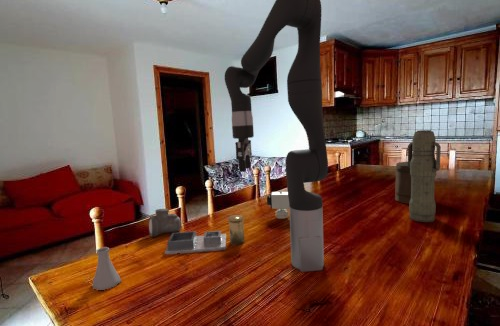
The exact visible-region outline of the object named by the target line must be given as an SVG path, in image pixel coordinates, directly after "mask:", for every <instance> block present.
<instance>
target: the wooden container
mask: <svg viewBox="0 0 500 326" xmlns="http://www.w3.org/2000/svg"><path fill="white" fill-rule="evenodd" d="M395 165H396V166H395V167H396V168H395V182H394V183H395V188H394V189H395V190H394V192H395V194H394V196H395V197H394V200H395V201H396V202H398V203H401V204H408V205H409V202H410V199H411V175H410V168H409V167H408V161H401V162H396V164H395Z"/></svg>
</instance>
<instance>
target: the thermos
mask: <svg viewBox="0 0 500 326" xmlns="http://www.w3.org/2000/svg"><path fill="white" fill-rule="evenodd" d="M441 149H442V148H441V145H440V143H439V142H436V135H435V133H434V130H431V129H428V130H427V129H426V130H423V129H422V130H421V129H420V130H416V131H415V132H414V134H413V137H412V142H410V143H409V144H408V145H407V162H408V167H409V168H410V175H411V199H410V202H409V204H408V205H409V207H408V208H409V209H408V210H409V211H408V212H409V219H410V220H412V221H415V222H419V223H432V222H435V221H436V220H435V217H436V216H435V215H436V205H437V203H436V200H435V184H436V182H435V179H436V177H437V171H440V168H441V151H442V150H441ZM435 151H436V154H435Z"/></svg>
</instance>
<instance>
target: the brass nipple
mask: <svg viewBox="0 0 500 326" xmlns="http://www.w3.org/2000/svg"><path fill="white" fill-rule="evenodd" d="M244 219H245V218H244V215H242V214H241V215H239V214H233V215H230V216H229V215H228V217H227V221H228V227H229V228H228V229H229V230H228V231H229V243H230V244H231V245H233V246H234V245H235V246H238V245H242V244H244V243H245V231H244V230H245V229H244Z"/></svg>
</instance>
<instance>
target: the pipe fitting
mask: <svg viewBox="0 0 500 326" xmlns="http://www.w3.org/2000/svg"><path fill="white" fill-rule="evenodd" d="M154 211H155V215H150V216H149V219H148V232H149V236H151V238H154V237H157V236H159V234H165V233H178V232H180V231H181V229H182V219H181V217H179V216H178V215H177V214H176V213H170V210H169V209H168V208H157V209H155V210H154Z"/></svg>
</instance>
